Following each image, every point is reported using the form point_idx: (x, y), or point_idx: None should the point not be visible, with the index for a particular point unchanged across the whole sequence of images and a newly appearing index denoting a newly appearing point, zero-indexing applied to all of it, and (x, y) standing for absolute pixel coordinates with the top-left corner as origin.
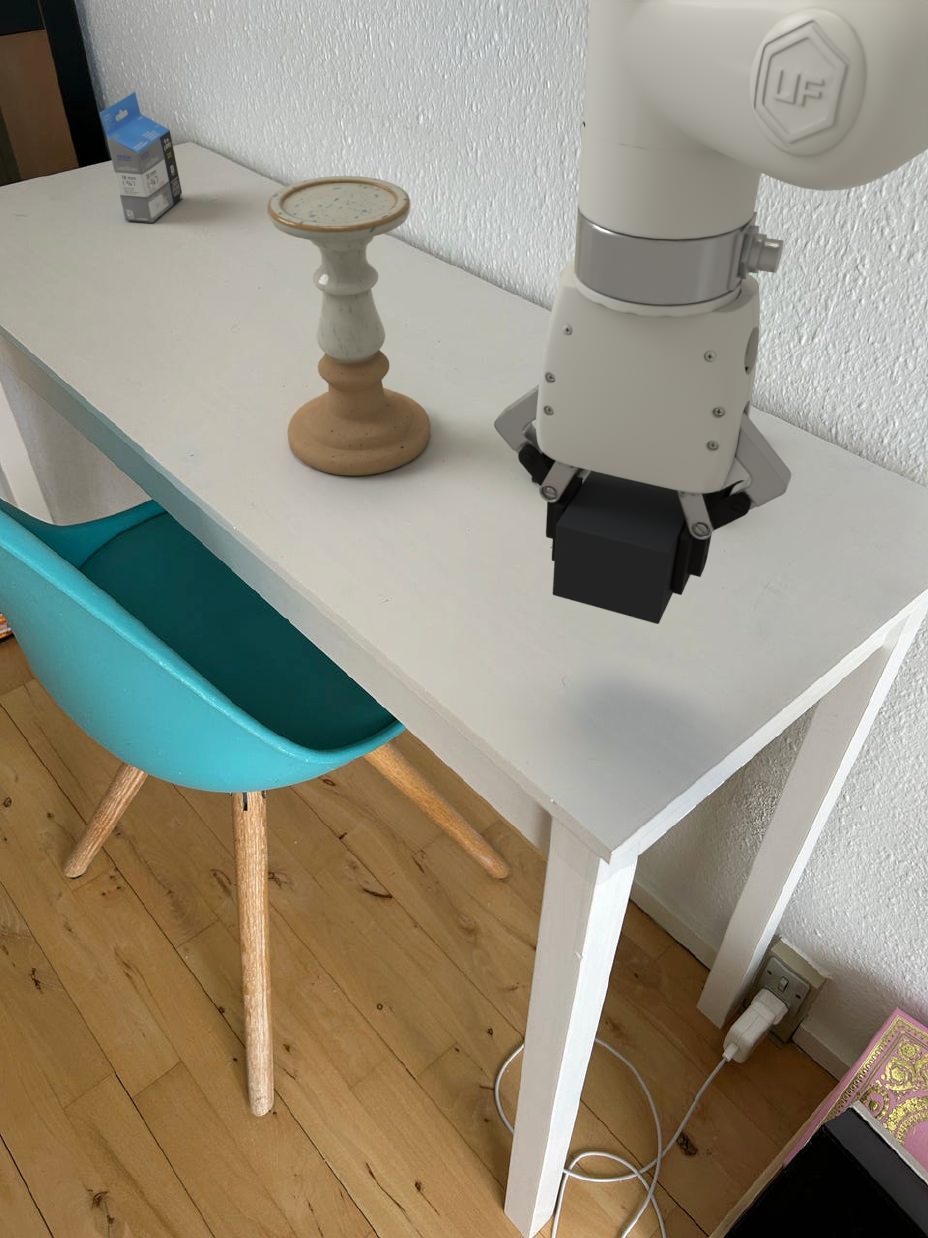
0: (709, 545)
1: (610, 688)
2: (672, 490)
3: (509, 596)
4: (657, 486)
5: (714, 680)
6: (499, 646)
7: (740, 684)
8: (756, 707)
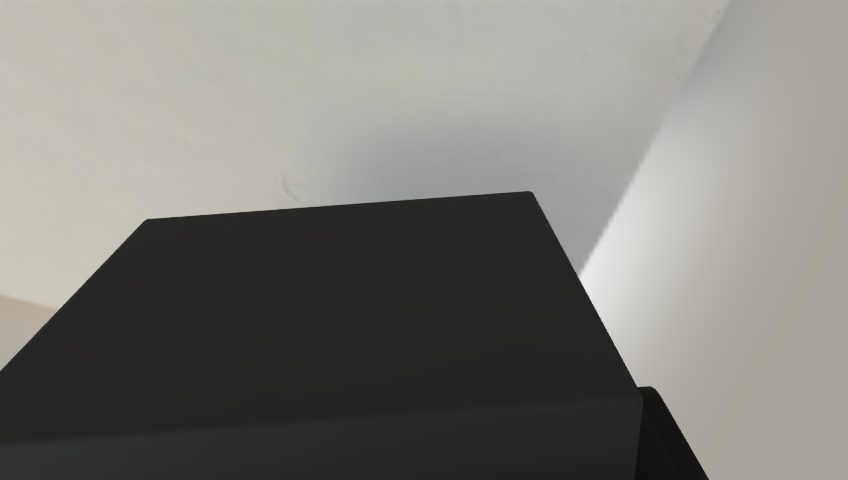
0: (682, 435)
1: (377, 163)
2: (484, 470)
3: (24, 3)
4: (388, 475)
5: (563, 36)
6: (122, 166)
7: (617, 20)
8: (658, 69)
